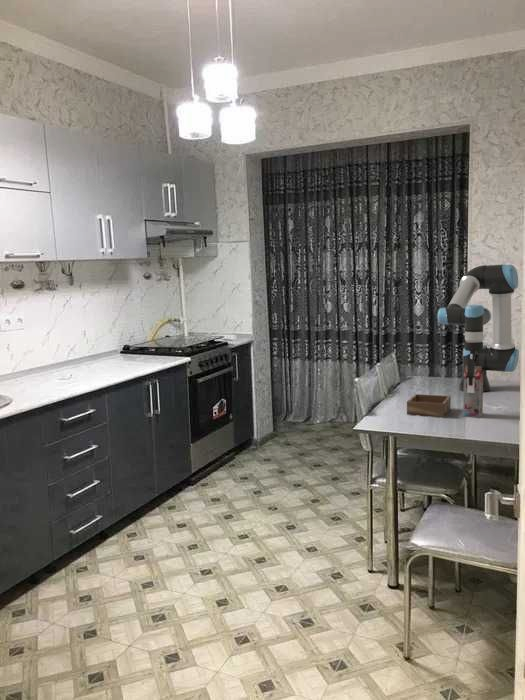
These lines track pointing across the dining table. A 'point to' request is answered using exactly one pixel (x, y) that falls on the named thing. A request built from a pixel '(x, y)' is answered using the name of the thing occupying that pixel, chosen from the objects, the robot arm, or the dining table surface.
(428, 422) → the dining table surface
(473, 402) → the juice carton
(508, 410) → the dining table surface
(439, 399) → the walled box
